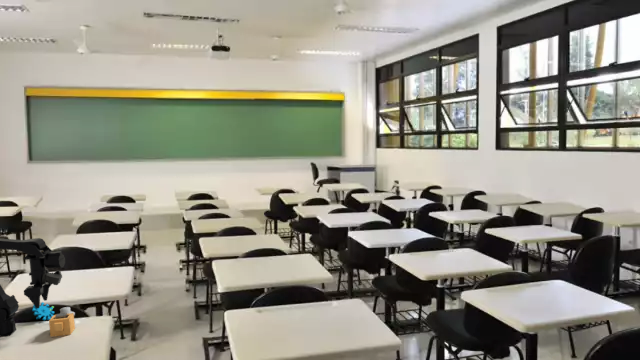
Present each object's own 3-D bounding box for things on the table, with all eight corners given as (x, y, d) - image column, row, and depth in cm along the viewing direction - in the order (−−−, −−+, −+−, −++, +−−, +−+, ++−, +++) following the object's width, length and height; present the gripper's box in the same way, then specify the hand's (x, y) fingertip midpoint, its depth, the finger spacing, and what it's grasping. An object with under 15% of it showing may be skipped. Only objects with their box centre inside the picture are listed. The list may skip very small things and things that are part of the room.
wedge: (57, 334, 208) (55, 316, 207) (58, 331, 211) (57, 313, 210) (67, 333, 209) (65, 315, 208) (69, 330, 211) (67, 312, 210)
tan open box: (48, 338, 204) (46, 319, 203) (59, 325, 218) (58, 306, 217) (69, 336, 205) (67, 317, 204) (78, 323, 219) (77, 304, 218)
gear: (41, 320, 219) (29, 303, 221) (34, 329, 220) (21, 312, 222) (61, 314, 230) (49, 298, 232) (53, 323, 231) (41, 306, 233)
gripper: (51, 273, 201) (55, 310, 203) (65, 261, 219) (68, 295, 221) (21, 275, 199) (25, 313, 201) (38, 263, 217) (41, 297, 219)
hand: (41, 304), depth 211 cm, fingers open, 9 cm apart
